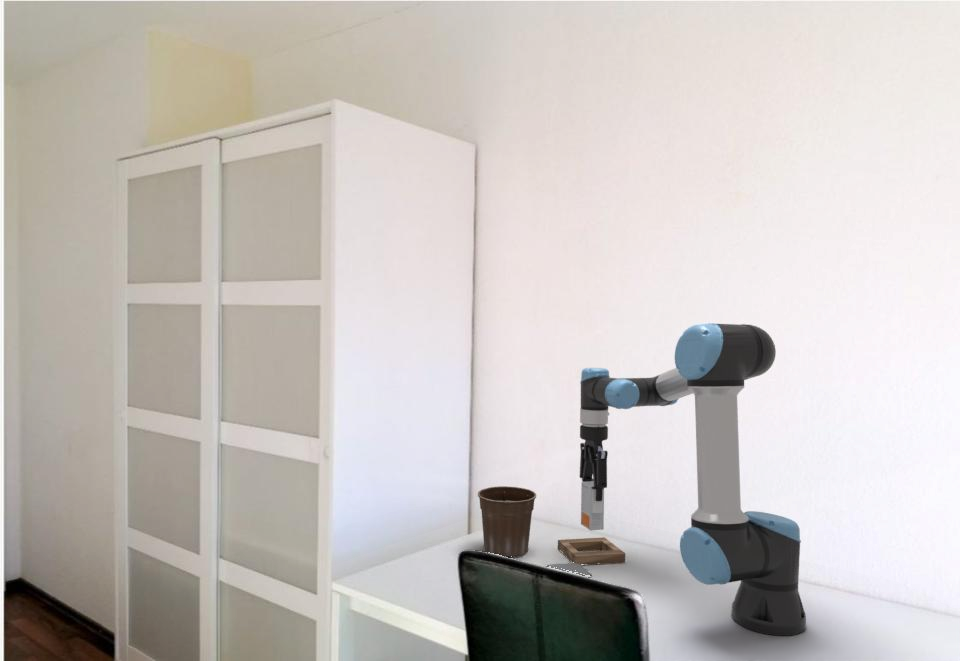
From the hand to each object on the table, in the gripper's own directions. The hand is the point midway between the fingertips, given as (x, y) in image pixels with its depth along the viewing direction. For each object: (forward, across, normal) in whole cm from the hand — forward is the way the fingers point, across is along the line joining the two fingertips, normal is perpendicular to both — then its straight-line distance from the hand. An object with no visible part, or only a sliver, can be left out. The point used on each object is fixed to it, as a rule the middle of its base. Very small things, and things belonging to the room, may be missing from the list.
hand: (592, 509), depth 202 cm
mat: (+13, -11, +11) cm, 20 cm away
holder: (+13, 0, 0) cm, 13 cm away
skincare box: (+5, 0, 0) cm, 5 cm away
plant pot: (+13, +8, +22) cm, 27 cm away
